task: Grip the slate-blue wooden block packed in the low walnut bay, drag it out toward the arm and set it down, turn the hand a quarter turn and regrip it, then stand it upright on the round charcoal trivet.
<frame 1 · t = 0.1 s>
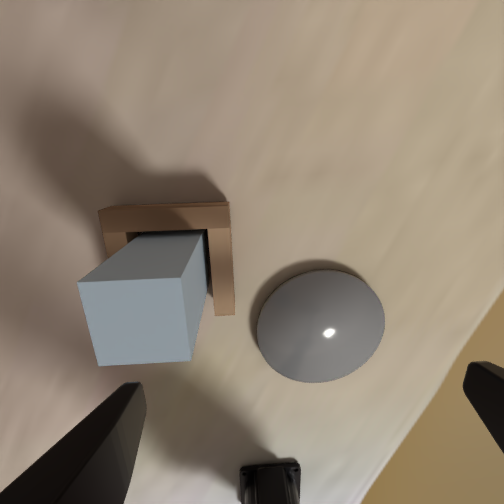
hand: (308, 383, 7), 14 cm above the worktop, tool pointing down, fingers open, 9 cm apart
charcoal trivet: (319, 327, 24), on the worktop
walnut bay: (177, 258, 21), on the worktop
slate block: (162, 283, 17), in the walnut bay
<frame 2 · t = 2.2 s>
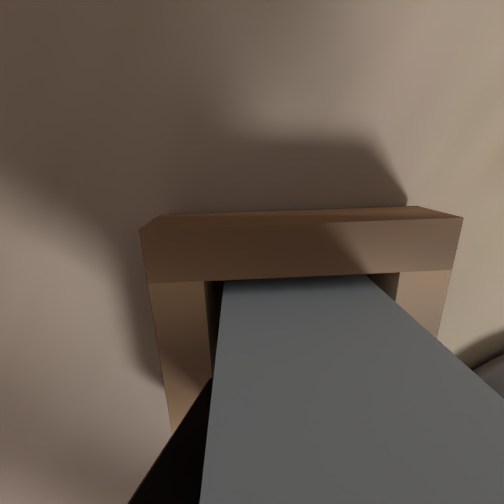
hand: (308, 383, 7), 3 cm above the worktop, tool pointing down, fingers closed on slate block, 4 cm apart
walnut bay: (288, 322, 10), on the worktop
slate block: (324, 434, 6), in the walnut bay, touching gripper
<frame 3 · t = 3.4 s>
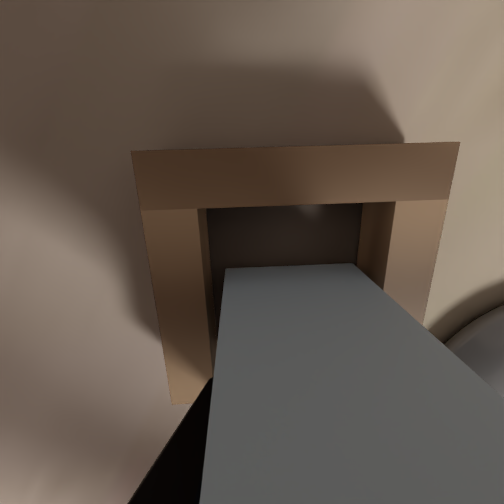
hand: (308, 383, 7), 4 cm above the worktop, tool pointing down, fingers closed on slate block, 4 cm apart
walnut bay: (284, 269, 10), on the worktop
slate block: (324, 433, 6), in the walnut bay, point 5 cm above the worktop, touching gripper
when the fingers open (4 cm above the worktop, at t = 5.1 s): slate block stays where it is, on the worktop.
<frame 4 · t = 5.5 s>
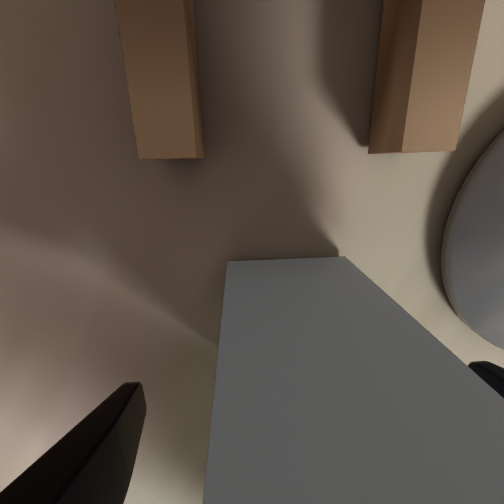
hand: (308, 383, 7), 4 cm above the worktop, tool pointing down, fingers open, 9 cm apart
walnut bay: (289, 7, 8), on the worktop
slate block: (315, 404, 7), on the worktop
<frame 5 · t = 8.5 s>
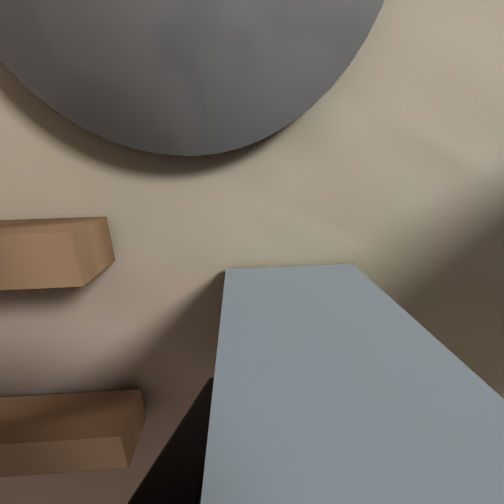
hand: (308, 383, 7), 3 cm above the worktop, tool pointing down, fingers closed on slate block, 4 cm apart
walnut bay: (15, 336, 10), on the worktop
slate block: (324, 434, 6), on the worktop, touching gripper
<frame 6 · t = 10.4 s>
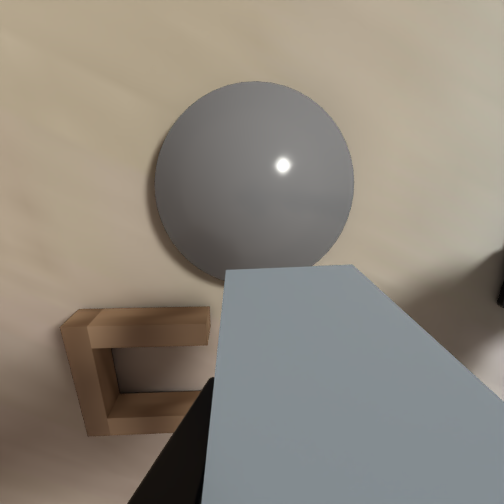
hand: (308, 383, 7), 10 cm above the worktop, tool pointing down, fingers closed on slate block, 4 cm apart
charcoal trivet: (255, 193, 16), on the worktop
walnut bay: (153, 361, 19), on the worktop
slate block: (324, 435, 6), point 12 cm above the worktop, touching gripper
when the fingers open (5 cm above the worktop, at t = 12.4 s): slate block stays where it is, resting on charcoal trivet.
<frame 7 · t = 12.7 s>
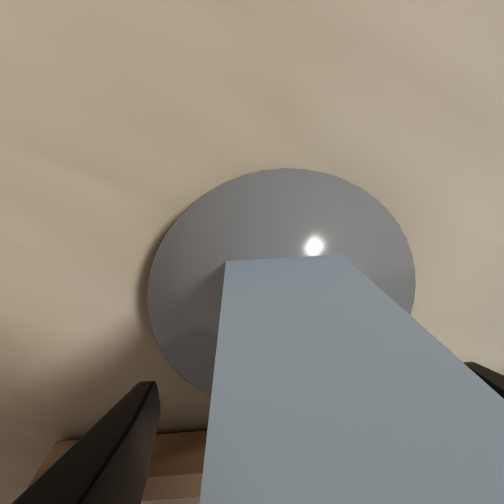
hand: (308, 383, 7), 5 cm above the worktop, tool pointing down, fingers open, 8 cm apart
charcoal trivet: (281, 301, 12), on the worktop
walnut bay: (155, 491, 15), on the worktop
slate block: (313, 399, 7), on the charcoal trivet, point 5 cm above the worktop
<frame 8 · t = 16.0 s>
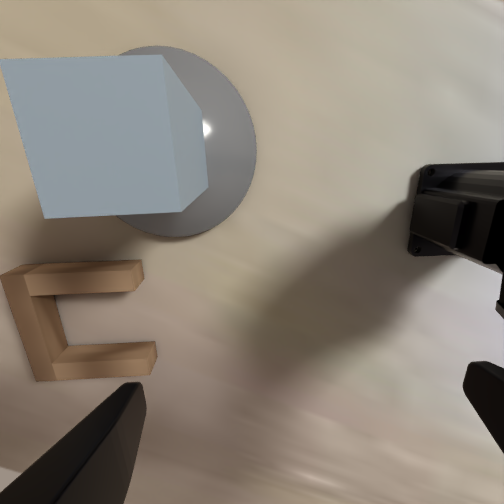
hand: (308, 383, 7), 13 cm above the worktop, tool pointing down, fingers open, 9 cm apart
charcoal trivet: (170, 151, 17), on the worktop
walnut bay: (96, 314, 21), on the worktop
slate block: (145, 148, 13), on the charcoal trivet, point 5 cm above the worktop
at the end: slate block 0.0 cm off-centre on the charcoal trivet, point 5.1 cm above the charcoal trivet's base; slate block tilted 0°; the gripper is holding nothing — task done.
